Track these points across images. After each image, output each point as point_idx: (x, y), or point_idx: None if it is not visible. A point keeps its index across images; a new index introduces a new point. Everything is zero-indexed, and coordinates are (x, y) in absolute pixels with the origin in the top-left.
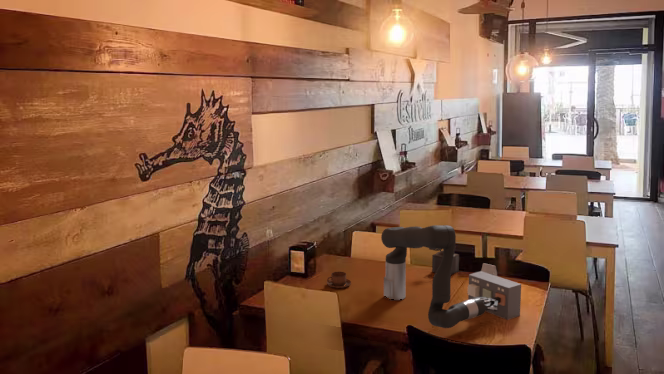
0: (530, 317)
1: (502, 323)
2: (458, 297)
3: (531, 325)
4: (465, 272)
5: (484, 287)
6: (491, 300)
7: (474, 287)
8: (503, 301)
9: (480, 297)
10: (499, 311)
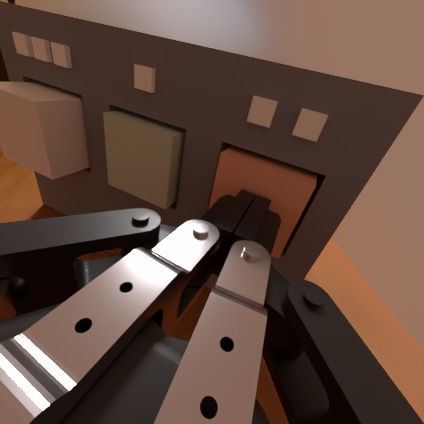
0: (329, 257)
1: (280, 410)
2: (15, 163)
3: (413, 349)
4: None
5: (117, 105)
6: (261, 333)
7: (28, 100)
8: (290, 229)
9: (39, 233)
10: None
